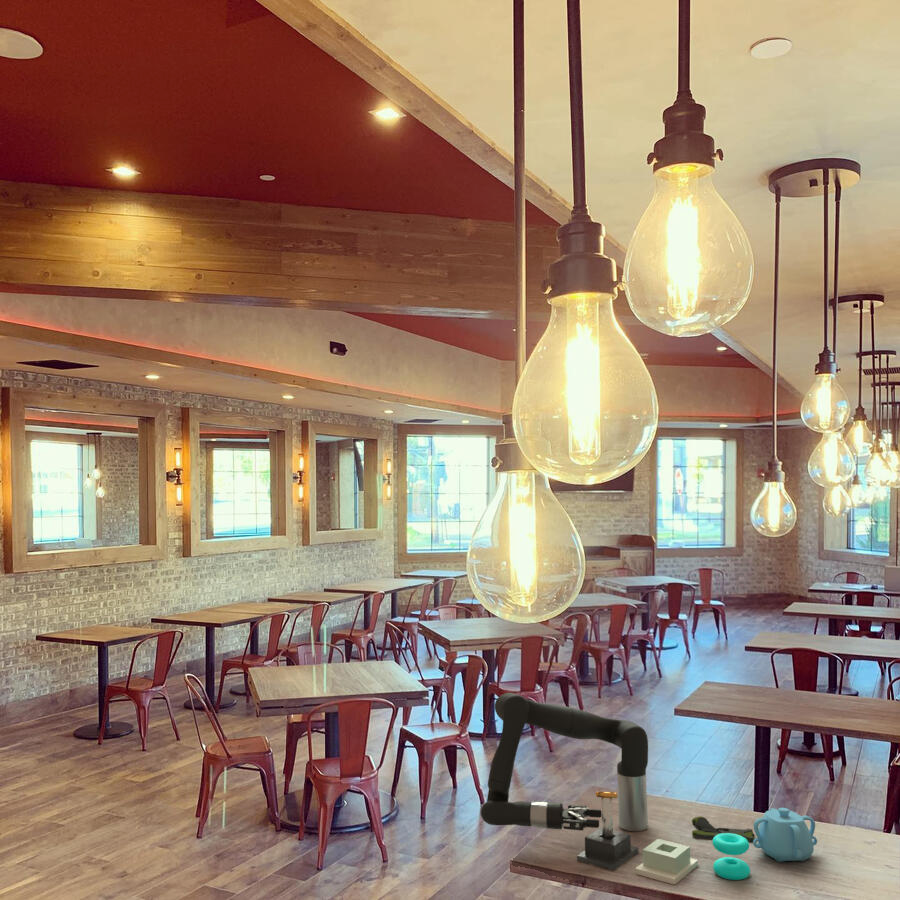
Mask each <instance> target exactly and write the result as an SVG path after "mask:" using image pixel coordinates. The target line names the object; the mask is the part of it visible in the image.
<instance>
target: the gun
mask: <svg viewBox="0 0 900 900" xmlns="http://www.w3.org/2000/svg"><path fill="white" fill-rule="evenodd" d="M691 823H692V824H693V825H694V826H695V827H696V829H695V830H692V831H691V832H692V838H695V839H702V840H713V838H714V837H715V836H716V835H718V834H722V833H732V834H737V835H740V836H742V837H744V838H745V839H747V841H748V843H753V840H754V839H756V838H757V837H755V833H754V830H753V829H751V828H746V829H744V828H743V829H741V828H740V829H739V828H727V827H718V828H717V827H715V826H713V825H712V824H711V823H710V821H709V820H708V819H707V818H706V817H705V816H696V817H694V818H692V819H691ZM697 829H698V830H697Z"/></svg>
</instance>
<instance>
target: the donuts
mask: <svg viewBox="0 0 900 900" xmlns="http://www.w3.org/2000/svg"><path fill="white" fill-rule="evenodd" d="M711 840H712V846H713V847H714V849H716V850H717V851H718V852H720V853H721V854H724V855H727V857H720V858H718V859H716V860H715V861H714V863H713V866H712V867H713V871H714V872H715V874H716V875H717V876H719V877H721V878H723V879H727V880H731V881H739V880H740V881H741V880H744V879H746V878H748V877H749V876H750V874H751V868H750V866H749V865H748V863H746V862H745V861H744V860H742V859H740V858H737V857H734V856H739V855H740V856H741V855H743V854H745V853H747V851H749V849H750V842H748V841H747V839H745V838H744V837H742V836H740V835H737V834H732V833H722V834H718V835H716V836H715V837H714V838H713V839H711ZM729 855H730V856H731V857H730V856H729ZM732 856H733V857H732Z"/></svg>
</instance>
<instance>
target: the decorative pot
mask: <svg viewBox="0 0 900 900" xmlns="http://www.w3.org/2000/svg"><path fill="white" fill-rule="evenodd" d="M806 820H807V821H810V827H808V826H807V823H806ZM753 831H754V834H755V835H756V837H755V838H756V839H754V840H753V842H752V844H753V846H754V848H756V849H762V851H763V852H764V853H765V855H767V856H769V857H771V858H773V859H775V862H779V863H784V862H785V861H787V862H788V861H789V862H790V861H794V862H796V861H799V862H806V860H808V859H810V858H811V856H812V855H813V853H814V851H815V849H814V846H815V845H817V844H818V839H817V837H816V836H814V834H815V831H816V822H815V820H814V819H813V818H812V817H811V816H810V815H800V814H799V813H797V812H795V811H792V810H790V808H786V807H779V808H778V809H776V808H773V807H772V808H769V809H768V810H766V811H765V812H764V814H763V816H762V817H759V818H757V819H755V821H754V822H753Z"/></svg>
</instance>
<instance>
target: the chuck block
mask: <svg viewBox="0 0 900 900" xmlns="http://www.w3.org/2000/svg"><path fill="white" fill-rule="evenodd" d="M631 836H632V835H631V834H629V833H626V832H625V833H624V832H620V831H617V830H613V838H612V839H611V840H609V839H605V838H602V827H599V828H597V829H596V830H594V831H593V832H592V833H590V834H588V835H587V836H586V835H585V837H584V850H583V851H581V852H580V853H579V854H577V855H576V861H577V862H581V863H584V864H588V865H590V866H595V867H599V868H602V869H606V870H610V871H613V872H614V871H615V870H616V869H618V868H619V867H621V866H622V865H624V864H625V863H627V861H630V859H632V858H634V857H635V856H636V855H638V854H639V851H640V850H639V847H638V846H633V845H632V843H631V842H632V841H631Z"/></svg>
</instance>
